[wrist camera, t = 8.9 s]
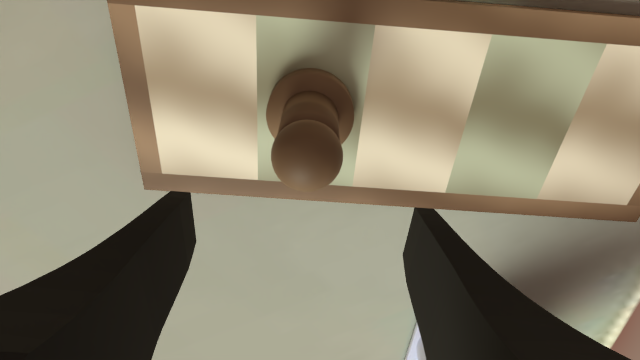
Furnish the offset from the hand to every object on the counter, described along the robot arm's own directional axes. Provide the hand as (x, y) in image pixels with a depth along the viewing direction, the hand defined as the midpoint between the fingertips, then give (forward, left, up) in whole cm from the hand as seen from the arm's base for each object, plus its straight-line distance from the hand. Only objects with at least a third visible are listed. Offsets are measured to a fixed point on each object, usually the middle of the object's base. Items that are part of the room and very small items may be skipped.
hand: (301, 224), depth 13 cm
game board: (0, -5, -10) cm, 12 cm away
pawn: (0, 0, -9) cm, 9 cm away
